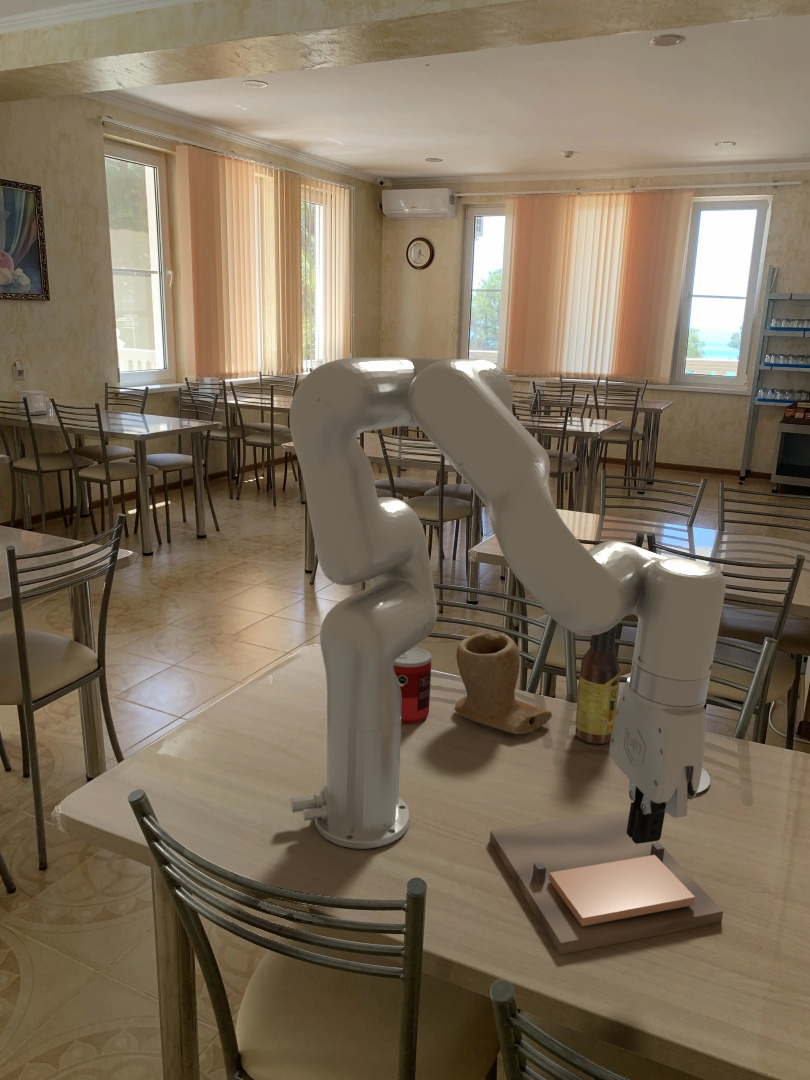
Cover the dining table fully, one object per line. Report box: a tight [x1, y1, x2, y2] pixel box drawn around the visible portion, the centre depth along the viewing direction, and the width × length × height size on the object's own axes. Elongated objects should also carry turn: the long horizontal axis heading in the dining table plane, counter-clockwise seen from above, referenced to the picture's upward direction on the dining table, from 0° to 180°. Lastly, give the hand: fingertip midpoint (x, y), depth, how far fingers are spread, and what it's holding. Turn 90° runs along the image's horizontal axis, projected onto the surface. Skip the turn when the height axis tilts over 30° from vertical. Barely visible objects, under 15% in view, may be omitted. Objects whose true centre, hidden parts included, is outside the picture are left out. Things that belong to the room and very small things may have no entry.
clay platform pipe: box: [454, 632, 553, 735], centre depth 133 cm, size 15×12×15 cm
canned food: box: [394, 646, 432, 725], centre depth 135 cm, size 8×8×11 cm
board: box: [489, 809, 724, 955], centre depth 96 cm, size 20×20×3 cm
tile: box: [549, 855, 695, 926], centre depth 92 cm, size 8×14×1 cm, turn 106°
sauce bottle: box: [574, 623, 621, 745], centre depth 129 cm, size 6×6×20 cm
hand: (643, 837), depth 86 cm, fingers closed
